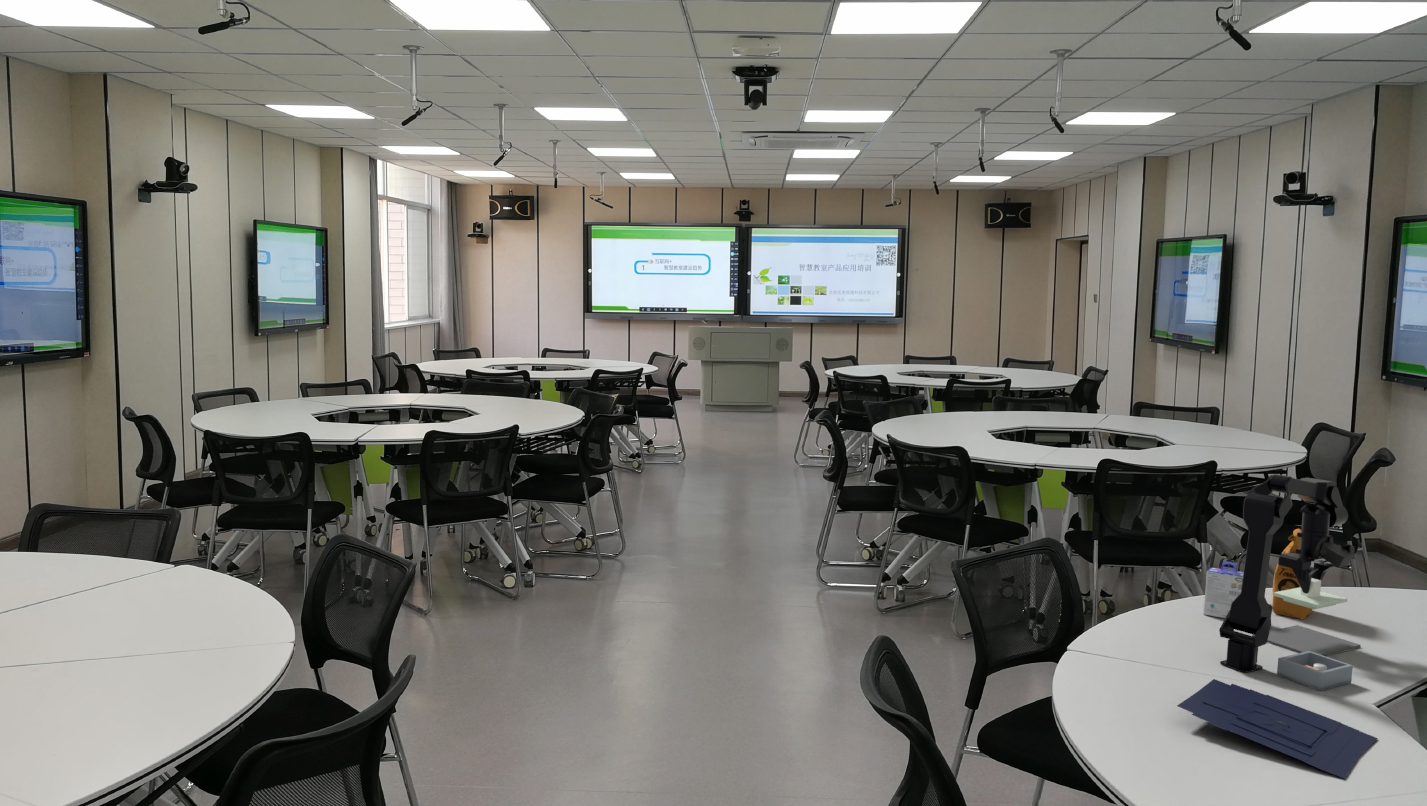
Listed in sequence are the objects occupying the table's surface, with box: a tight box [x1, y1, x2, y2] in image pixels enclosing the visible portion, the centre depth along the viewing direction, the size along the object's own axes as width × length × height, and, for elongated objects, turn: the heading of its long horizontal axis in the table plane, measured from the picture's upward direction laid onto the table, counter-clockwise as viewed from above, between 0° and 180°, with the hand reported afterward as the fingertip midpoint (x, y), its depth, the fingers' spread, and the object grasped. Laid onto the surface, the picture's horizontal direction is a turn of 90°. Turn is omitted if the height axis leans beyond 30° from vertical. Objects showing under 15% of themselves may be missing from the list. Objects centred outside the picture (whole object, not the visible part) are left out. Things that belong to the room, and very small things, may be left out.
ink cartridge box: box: [1203, 560, 1244, 619], centre depth 269 cm, size 10×6×14 cm, turn 53°
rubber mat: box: [1251, 624, 1362, 657], centre depth 251 cm, size 18×16×1 cm
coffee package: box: [1271, 528, 1313, 620], centre depth 273 cm, size 10×12×22 cm
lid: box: [1272, 578, 1348, 610], centre depth 249 cm, size 12×11×6 cm
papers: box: [1176, 678, 1378, 779], centre depth 198 cm, size 24×30×4 cm
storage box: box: [1276, 651, 1354, 692], centre depth 226 cm, size 11×10×4 cm
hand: (1309, 592), depth 249 cm, fingers closed on lid, 3 cm apart
